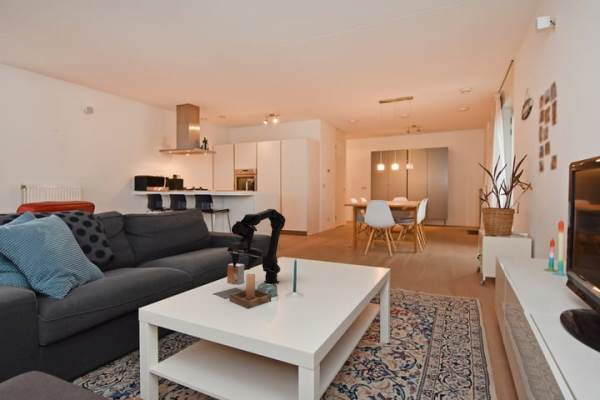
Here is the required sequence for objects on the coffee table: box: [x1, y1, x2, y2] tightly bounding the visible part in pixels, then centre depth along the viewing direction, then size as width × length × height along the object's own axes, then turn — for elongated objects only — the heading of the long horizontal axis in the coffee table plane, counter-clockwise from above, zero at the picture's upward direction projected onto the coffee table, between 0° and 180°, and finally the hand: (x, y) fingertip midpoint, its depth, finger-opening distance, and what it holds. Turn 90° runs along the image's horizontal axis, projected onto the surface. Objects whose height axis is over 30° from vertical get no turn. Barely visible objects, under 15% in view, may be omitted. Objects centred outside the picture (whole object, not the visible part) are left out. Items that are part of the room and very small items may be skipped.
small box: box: [226, 262, 245, 286], centre depth 183 cm, size 8×6×10 cm
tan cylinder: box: [245, 273, 256, 301], centre depth 152 cm, size 4×4×12 cm
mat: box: [212, 287, 244, 300], centre depth 163 cm, size 14×11×1 cm
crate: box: [229, 288, 272, 310], centre depth 152 cm, size 14×14×4 cm
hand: (241, 268), depth 161 cm, fingers open, 9 cm apart
